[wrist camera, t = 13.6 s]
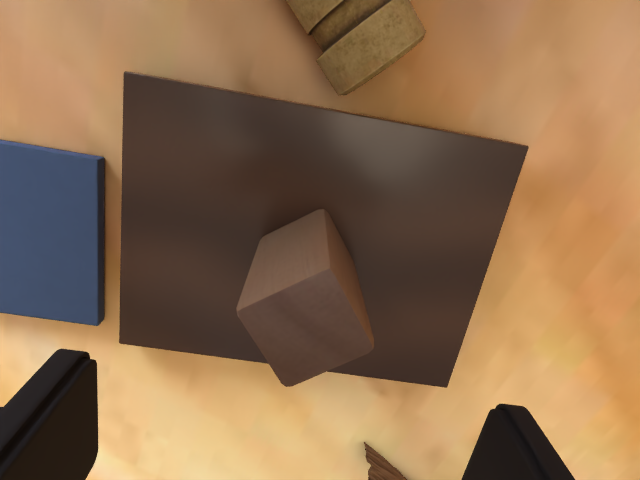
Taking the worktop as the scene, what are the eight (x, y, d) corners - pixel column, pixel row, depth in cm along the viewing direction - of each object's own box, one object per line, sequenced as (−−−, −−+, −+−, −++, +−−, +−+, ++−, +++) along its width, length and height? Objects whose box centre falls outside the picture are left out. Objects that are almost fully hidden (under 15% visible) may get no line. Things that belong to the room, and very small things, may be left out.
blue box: (-34, 133, 21) (-46, 134, 21) (104, 156, 22) (97, 159, 21) (-16, 302, 25) (-26, 309, 24) (104, 319, 25) (98, 326, 24)
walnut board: (136, 72, 20) (123, 70, 19) (515, 142, 22) (529, 146, 21) (129, 330, 25) (118, 343, 24) (440, 372, 27) (447, 388, 26)
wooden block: (292, 296, 23) (283, 394, 16) (257, 237, 22) (229, 312, 14) (356, 266, 23) (379, 353, 15) (324, 204, 21) (331, 264, 14)
